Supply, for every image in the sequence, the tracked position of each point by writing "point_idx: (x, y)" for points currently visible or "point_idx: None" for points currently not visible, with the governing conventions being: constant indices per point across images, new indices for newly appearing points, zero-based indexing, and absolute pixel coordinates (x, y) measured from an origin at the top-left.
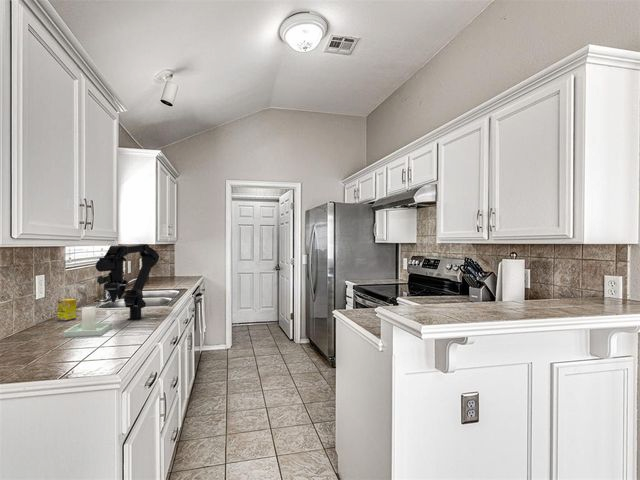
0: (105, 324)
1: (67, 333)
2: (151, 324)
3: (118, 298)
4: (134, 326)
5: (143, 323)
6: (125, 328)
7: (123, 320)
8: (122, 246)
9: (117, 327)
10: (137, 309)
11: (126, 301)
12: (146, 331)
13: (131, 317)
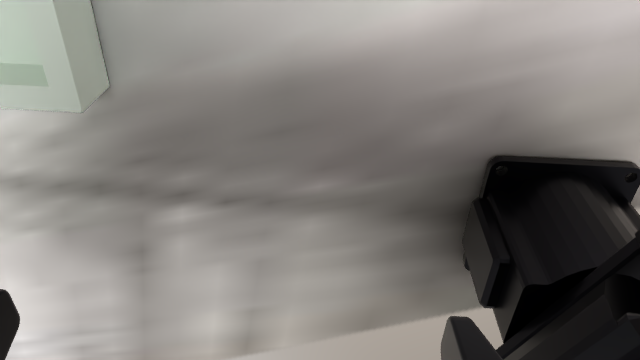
0: (44, 36)
1: None
2: (240, 347)
3: (450, 335)
4: (173, 258)
5: (286, 300)
6: (94, 207)
7: (492, 116)
8: None
9: (131, 133)
10: (502, 330)
11: (573, 338)
12: (16, 342)
13: (474, 213)
